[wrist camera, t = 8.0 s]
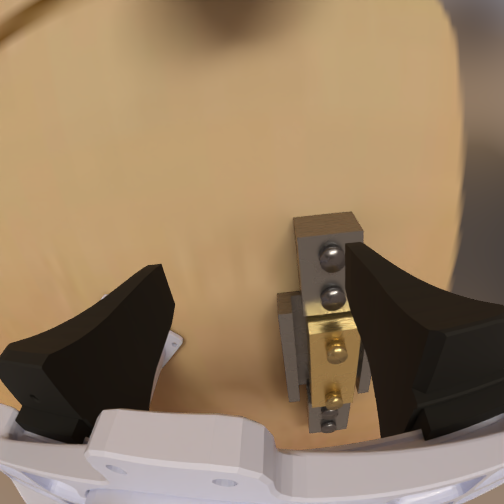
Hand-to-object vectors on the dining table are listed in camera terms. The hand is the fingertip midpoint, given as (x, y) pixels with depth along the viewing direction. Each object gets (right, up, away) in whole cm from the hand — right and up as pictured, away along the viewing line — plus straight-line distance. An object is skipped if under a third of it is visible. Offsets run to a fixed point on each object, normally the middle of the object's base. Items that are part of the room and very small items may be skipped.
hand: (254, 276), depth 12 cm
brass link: (+6, -6, +13) cm, 16 cm away
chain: (+6, -7, +14) cm, 17 cm away
